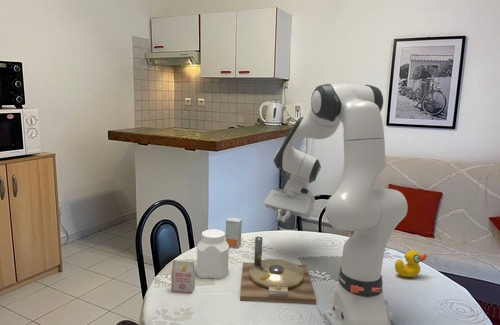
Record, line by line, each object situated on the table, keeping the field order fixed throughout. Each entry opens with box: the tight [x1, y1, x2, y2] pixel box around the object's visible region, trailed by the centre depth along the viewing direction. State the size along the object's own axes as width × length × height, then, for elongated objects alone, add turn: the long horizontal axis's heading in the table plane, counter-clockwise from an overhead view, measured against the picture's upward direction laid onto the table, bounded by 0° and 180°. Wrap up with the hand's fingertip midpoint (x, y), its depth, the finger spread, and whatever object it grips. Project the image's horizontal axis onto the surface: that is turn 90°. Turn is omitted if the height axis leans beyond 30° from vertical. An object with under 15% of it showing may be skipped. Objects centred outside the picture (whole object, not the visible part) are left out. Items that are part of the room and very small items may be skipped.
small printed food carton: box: [171, 260, 196, 294], centre depth 118 cm, size 4×7×10 cm, turn 85°
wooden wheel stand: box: [239, 262, 317, 305], centre depth 125 cm, size 24×24×4 cm
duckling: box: [394, 249, 427, 278], centre depth 134 cm, size 11×5×10 cm, turn 96°
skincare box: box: [225, 216, 243, 249], centre depth 155 cm, size 6×4×12 cm
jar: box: [196, 228, 230, 280], centre depth 131 cm, size 12×10×15 cm
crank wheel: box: [249, 236, 304, 289], centre depth 126 cm, size 19×19×12 cm
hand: (280, 220), depth 141 cm, fingers closed
